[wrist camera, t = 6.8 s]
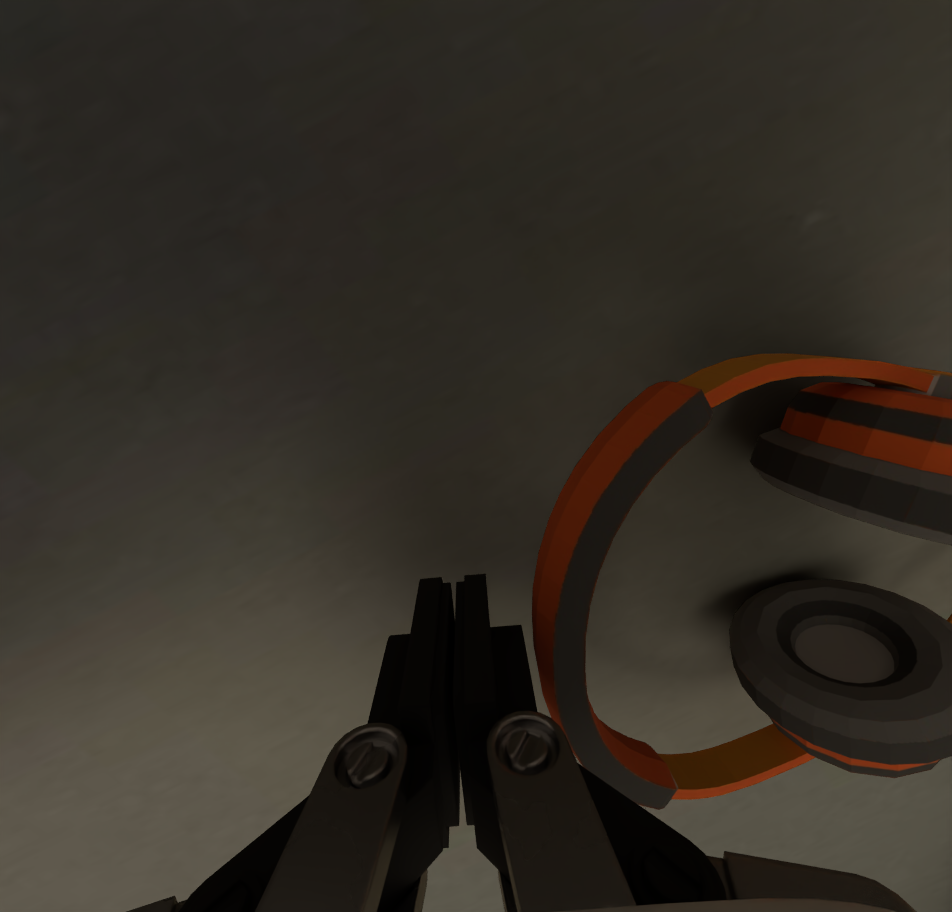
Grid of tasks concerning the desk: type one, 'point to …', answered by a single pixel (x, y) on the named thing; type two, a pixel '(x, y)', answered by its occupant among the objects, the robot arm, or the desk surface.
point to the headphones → (782, 606)
